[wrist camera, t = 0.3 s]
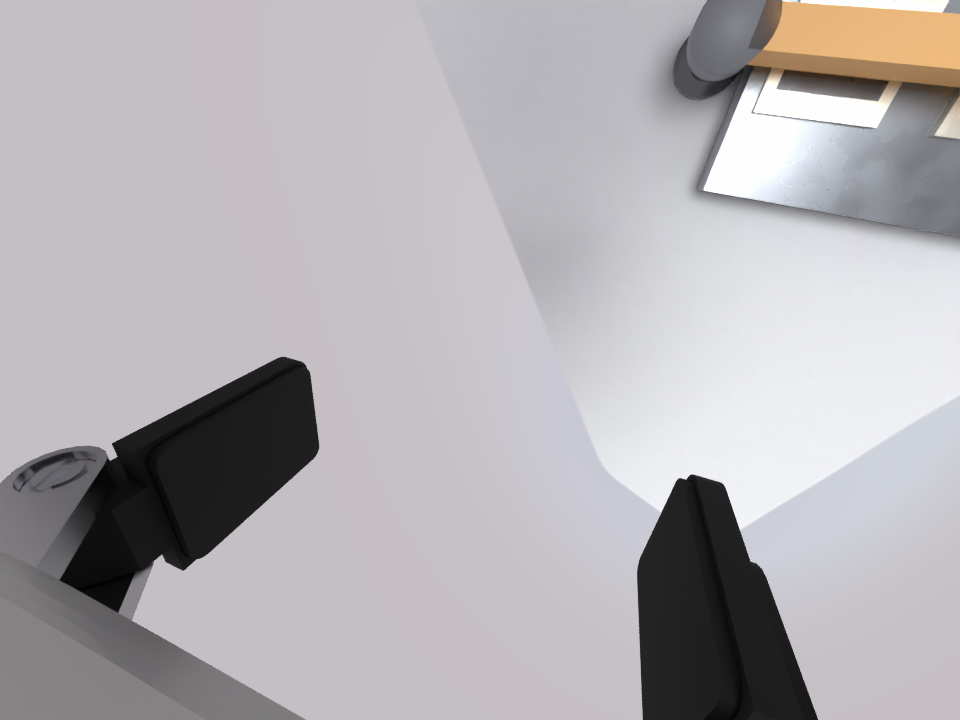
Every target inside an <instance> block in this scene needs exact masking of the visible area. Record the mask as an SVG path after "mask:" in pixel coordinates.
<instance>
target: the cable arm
mask: <svg viewBox="0 0 960 720" xmlns="http://www.w3.org/2000/svg"><path fill="white" fill-rule="evenodd" d="M686 55H687V62H688V65H689V67H690V69H691V71H692V72H693V73H694V74H695V75H696V76H697V77H699V78H700V79H703V80H706V81H720V80H724V79H726V78H729V77H731V76H733V75H734V74H736V73H737V72H739V71H740V70H741V69H743V68H744V67H745V66H746V65H754V66H763V67H773V68H782V69H791V70H801V71H810V72H819V73H829V74H838V75H847V76H857V77H866V78H875V79H885V80H894V81H903V82H913V83H922V84H931V85H941V86H950V87H959V88H960V14H955V13H941V12H927V11H913V10H899V9H885V8H871V7H857V6H843V5H829V4H815V3H801V2H788V1H782V0H707V2H706V3H705V5H704V7H703V8H702V10H701V12H700V14H699V16H698V19H697V21H696V23H695V25H694V27H693V29H692V31H691V34H690V36H689V40H688V43H687V52H686Z"/></svg>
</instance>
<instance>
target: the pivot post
mask: <svg viewBox="0 0 960 720" xmlns="http://www.w3.org/2000/svg"><path fill="white" fill-rule="evenodd" d="M688 40H689V37H688V38H687V39H686V41H685V42H684V44H683V45H682V47H681V49H680V51H679V53H678V55H677V57H676V60H675V64H674V72H673V75H674V82H675V85H676V87H677V89H678V90H679V92H680V93H681V94H683V95H684V96H685V97H687V98H690V99H694V100H702V99H707V98H710V97H713V96H715V95H717V94H718V93H720V92H721V91H723V90H724V89H725V88H726V87H727V86H728V85H729V84H730V83H731V82H732V81H733V80H734V79H735V78H736V76H737V75H738V73H739V72H737V73H736V74H734V75H733V76H731V77H729V78H726V79H724V80H720V81H706V80H703V79H700V78H699V77H697V76H696V75H695V74H694V73H693V72H692V71H691V69H690V67H689V65H688V62H687V55H686V52H687V43H688Z"/></svg>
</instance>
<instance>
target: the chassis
mask: <svg viewBox="0 0 960 720" xmlns="http://www.w3.org/2000/svg"><path fill="white" fill-rule="evenodd" d="M782 1H788V2H801V3H815V4H829V5H843V6H857V7H871V8H885V9H899V10H913V11H927V12H941V13H955V14H960V0H782ZM696 190H701V191H707V192H712V193H718V194H724V195H729V196H735V197H740V198H746V199H752V200H757V201H763V202H768V203H774V204H780V205H785V206H791V207H796V208H802V209H808V210H813V211H819V212H824V213H830V214H836V215H841V216H847V217H852V218H858V219H864V220H869V221H875V222H880V223H886V224H892V225H897V226H903V227H908V228H914V229H920V230H925V231H931V232H936V233H942V234H948V235H953V236H959V237H960V88H959V87H950V86H941V85H931V84H922V83H913V82H903V81H894V80H885V79H875V78H866V77H857V76H847V75H838V74H829V73H819V72H810V71H801V70H791V69H782V68H773V67H763V66H754V65H746V66H745V69H744V71H743V74H742V76H741V79H740V81H739V84H738V86H737V89H736V91H735V94H734V96H733V99H732V101H731V104H730V106H729V109H728V111H727V114H726V116H725V119H724V121H723V124H722V126H721V129H720V131H719V134H718V136H717V139H716V141H715V144H714V146H713V149H712V151H711V154H710V156H709V159H708V161H707V164H706V166H705V169H704V171H703V174H702V176H701V179H700V181H699V184H698V186H697V189H696Z"/></svg>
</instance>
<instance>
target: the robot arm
mask: <svg viewBox="0 0 960 720" xmlns="http://www.w3.org/2000/svg"><path fill="white" fill-rule="evenodd" d="M310 377H311V376H310V372H309V370H307V367H306V365H305V364H304V363H303V362H301V361H297V360H294V359H290V358H287V357H280V358H277V359H275V360H273V361H271V362H269V363H267V364H266V365H264V366H262V367H260V368H258V369H256V370H254V371H252V372H250V373H248V374H246V375H244V376H242V377H240V378H238V379H236V380H234V381H232V382H231V383H229V384H227V385H225V386H223V387H221V388H219V389H217V390H215V391H213V392H211V393H209V394H207V395H205V396H203V397H201V398H199V399H198V400H196V401H194V402H192V403H190V404H188V405H186V406H184V407H182V408H180V409H178V410H176V411H174V412H172V413H170V414H168V415H167V416H164V417H163V418H161V419H159V420H157V421H155V422H153V423H151V424H149V425H147V426H145V427H143V428H141V429H139V430H137V431H135V432H133V433H132V434H129V435H128V436H126V437H124V438H122V439H120V440H118V441H116V442H114V443H112V445H113V447H114V449H115V452H116V454H117V456H118V457H117V458H115V459H113V460H111V461H110V460H109V458H108V456H107V453H106V451H104V450H103V449H101V448H99V447H94V446H76V447H71V448H66V449H61V450H57V451H54V452H51V453H48V454H45V455H43V456H40V457H38V458H36V459H33V460H31V461H29V462H27V463H26V464H24V465H22V466H21V467H19V468H17V469H16V470H14V471H13V472H12V473H11V474H10V475H9V476H7V477H6V478H5V479H4V480H3V481H2V482H1V483H0V720H305V719H303V718H302V717H300V716H298V715H297V714H295V713H293V712H291V711H290V710H288V709H286V708H284V707H283V706H281V705H279V704H277V703H276V702H274V701H272V700H270V699H269V698H267V697H265V696H263V695H262V694H260V693H258V692H256V691H255V690H253V689H251V688H249V687H248V686H246V685H244V684H242V683H240V682H239V681H237V680H235V679H234V678H232V677H230V676H228V675H227V674H225V673H223V672H221V671H220V670H218V669H216V668H214V667H213V666H211V665H209V664H207V663H205V662H204V661H202V660H200V659H198V658H197V657H195V656H193V655H191V654H190V653H188V652H186V651H184V650H183V649H181V648H179V647H177V646H176V645H174V644H172V643H170V642H168V641H167V640H165V639H163V638H162V637H160V636H158V635H156V634H154V633H153V632H151V631H149V630H147V629H146V628H144V627H142V626H140V625H138V624H137V623H135V622H133V621H132V618H133V616H134V613H135V610H136V608H137V605H138V603H139V600H140V597H141V595H142V592H143V590H144V587H145V584H146V582H147V579H148V577H149V574H150V571H151V569H152V566H153V563H154V560H156V559H157V558H158V557H159V556H160V555H163V557H164V559H165V561H166V562H167V563H169V564H171V565H173V566H175V567H177V568H179V569H181V570H185V569H186V568H187V567H188V566H189V565H190V564H192V563H193V562H194V561H195V560H196V559H200V558H202V557H204V556H205V555H207V554H208V553H209V552H210V551H211V550H213V549H214V548H215V547H216V546H217V545H218V544H219V543H220V542H222V541H223V540H224V539H225V538H226V537H227V536H228V535H229V534H230V533H232V532H233V531H234V530H235V529H236V528H237V527H238V526H239V525H240V524H242V523H243V522H244V521H245V520H246V519H247V518H248V517H249V516H250V515H252V514H253V513H254V512H255V511H256V510H257V509H258V508H259V507H260V506H262V505H263V504H264V503H265V502H266V501H267V500H268V499H269V498H270V497H271V496H273V495H274V494H275V493H276V492H277V491H278V490H279V489H280V488H282V487H283V486H284V485H285V484H286V483H287V482H288V481H289V480H290V479H292V478H293V477H294V476H295V475H296V474H297V473H298V472H299V471H300V470H301V469H302V468H304V467H305V466H306V465H307V464H308V463H309V462H310V461H311V460H313V459H314V457H315V456H316V454H317V452H318V450H319V440H318V432H317V424H316V416H315V408H314V401H313V393H312V384H311V378H310ZM637 584H638V606H639V607H638V609H639V633H640V659H641V682H642V709H643V720H818V718H817V715H816V713H815V710H814V707H813V704H812V702H811V699H810V696H809V693H808V691H807V688H806V685H805V683H804V680H803V677H802V674H801V672H800V669H799V666H798V663H797V661H796V658H795V655H794V652H793V650H792V647H791V644H790V642H789V639H788V636H787V633H786V631H785V628H784V625H783V622H782V620H781V617H780V614H779V611H778V609H777V606H776V604H775V600H774V598H773V595H772V592H771V589H770V587H769V584H768V581H767V578H766V576H765V574H764V572H763V570H762V569H761V568H760V567H759V566H758V565H757V564H756V563H753V562H750V559H749V556H748V553H747V550H746V547H745V544H744V541H743V538H742V535H741V532H740V529H739V527H738V524H737V521H736V518H735V515H734V512H733V509H732V506H731V503H730V500H729V497H728V494H727V491H726V488H725V486H724V484H722V483H720V482H717V481H714V480H710V479H707V478H703V477H700V476H696V475H690V476H689V477H688V478H687V480H685V479H682V478H679V479H678V480H677V481H676V483H675V485H674V487H673V489H672V492H671V494H670V496H669V498H668V500H667V502H666V504H665V506H664V509H663V511H662V513H661V515H660V517H659V519H658V521H657V523H656V526H655V528H654V530H653V532H652V534H651V536H650V538H649V540H648V543H647V545H646V547H645V549H644V551H643V553H642V555H641V557H640V560H639V564H638V571H637Z"/></svg>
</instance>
